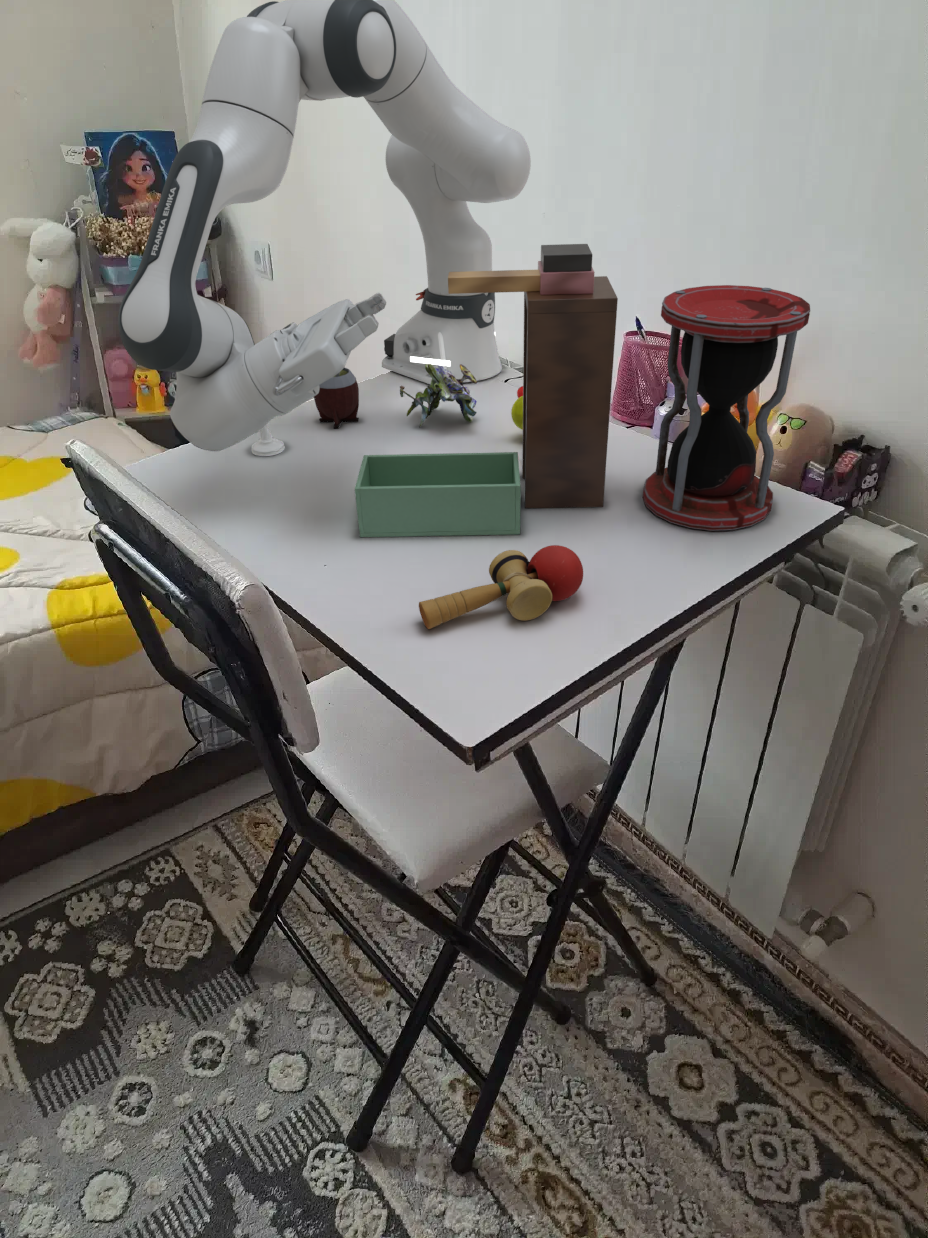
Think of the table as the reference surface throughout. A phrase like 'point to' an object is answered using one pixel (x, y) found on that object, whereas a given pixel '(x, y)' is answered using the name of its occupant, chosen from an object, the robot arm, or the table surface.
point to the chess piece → (267, 444)
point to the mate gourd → (338, 399)
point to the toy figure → (518, 409)
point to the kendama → (514, 586)
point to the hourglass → (721, 403)
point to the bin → (439, 494)
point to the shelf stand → (567, 395)
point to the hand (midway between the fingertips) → (379, 309)
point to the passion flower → (444, 392)
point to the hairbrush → (535, 274)
